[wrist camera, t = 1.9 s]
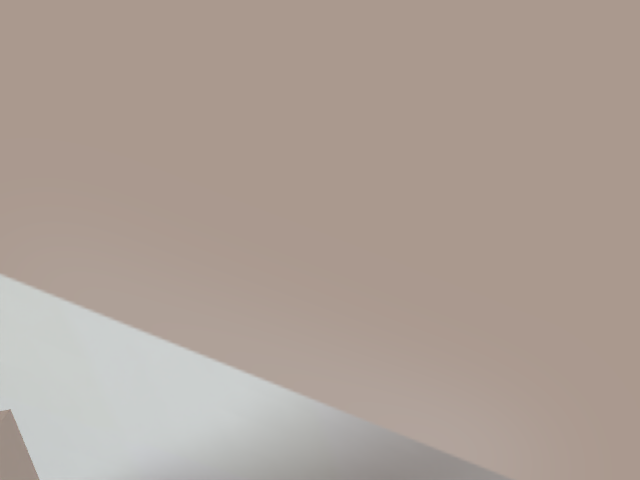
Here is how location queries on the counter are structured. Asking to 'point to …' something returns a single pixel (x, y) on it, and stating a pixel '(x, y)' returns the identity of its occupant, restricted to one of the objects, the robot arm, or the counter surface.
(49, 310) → the counter surface
